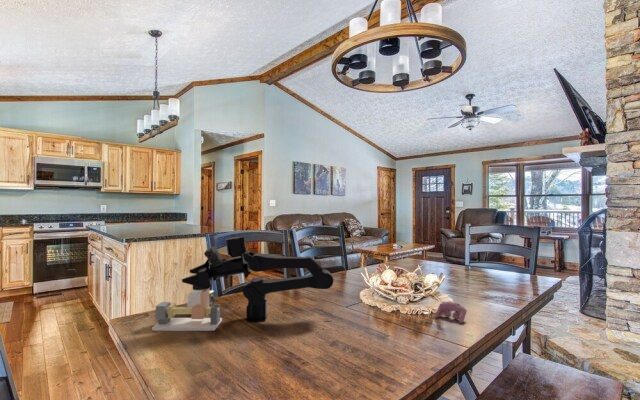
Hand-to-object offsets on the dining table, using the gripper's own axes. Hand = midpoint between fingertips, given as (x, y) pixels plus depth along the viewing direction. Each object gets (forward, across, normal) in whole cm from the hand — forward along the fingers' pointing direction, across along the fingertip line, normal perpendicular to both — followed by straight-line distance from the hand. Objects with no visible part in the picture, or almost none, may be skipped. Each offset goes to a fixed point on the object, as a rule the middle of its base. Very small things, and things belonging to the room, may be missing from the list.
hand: (186, 276), depth 117 cm
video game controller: (-90, +9, +32) cm, 96 cm away
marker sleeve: (-4, +8, +12) cm, 15 cm away
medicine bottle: (0, -7, +17) cm, 19 cm away
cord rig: (0, +8, +15) cm, 17 cm away
